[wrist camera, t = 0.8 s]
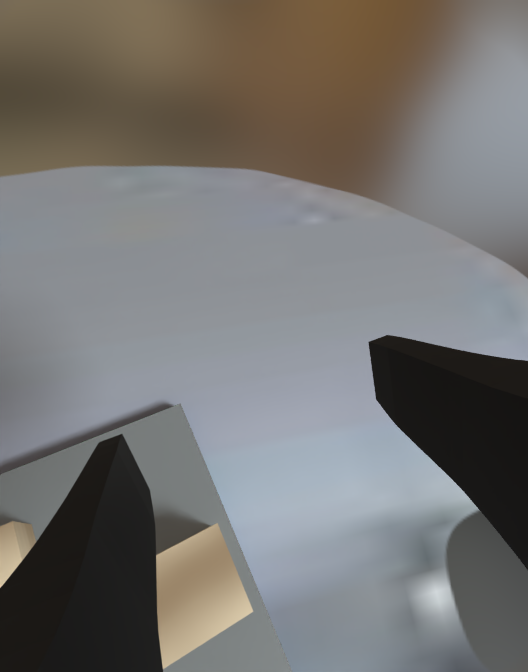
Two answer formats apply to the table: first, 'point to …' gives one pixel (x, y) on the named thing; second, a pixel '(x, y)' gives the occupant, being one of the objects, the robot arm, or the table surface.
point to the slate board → (158, 524)
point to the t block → (170, 586)
